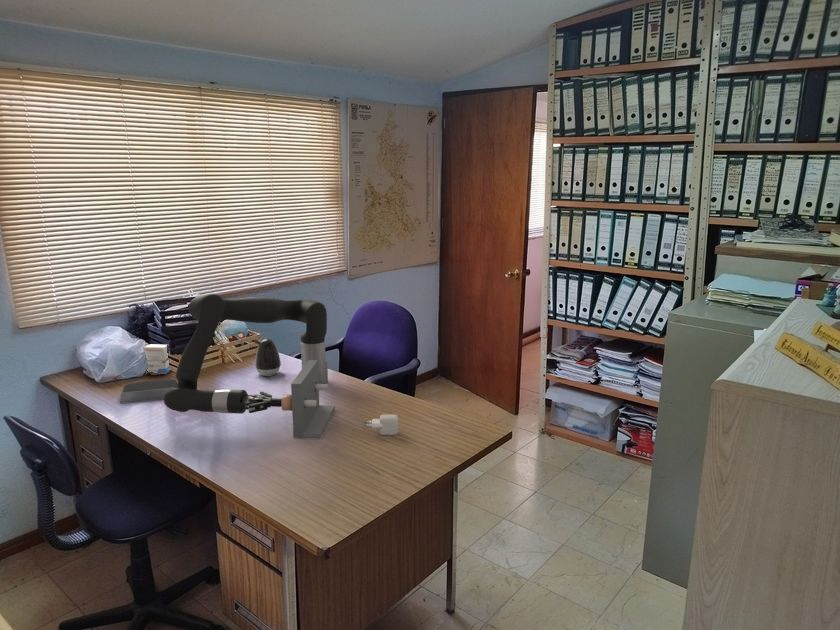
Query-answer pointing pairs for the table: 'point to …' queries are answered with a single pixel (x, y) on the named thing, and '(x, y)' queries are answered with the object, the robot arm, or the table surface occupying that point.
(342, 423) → the table surface
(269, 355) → the dark grey tapered speaker
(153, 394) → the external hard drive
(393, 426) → the power adapter
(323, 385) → the cream knob
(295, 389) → the knob mount
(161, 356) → the ink box
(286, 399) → the terracotta knob
